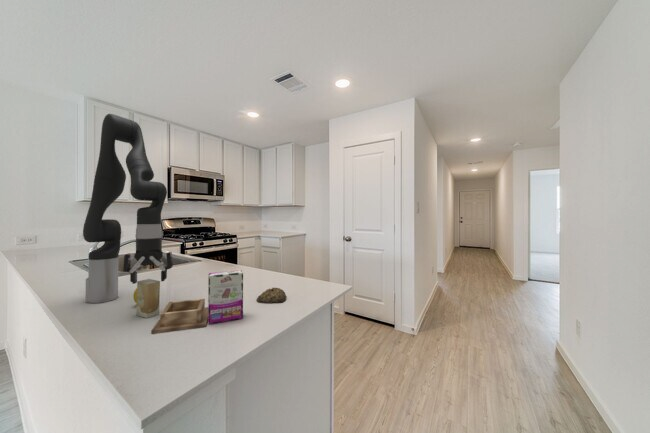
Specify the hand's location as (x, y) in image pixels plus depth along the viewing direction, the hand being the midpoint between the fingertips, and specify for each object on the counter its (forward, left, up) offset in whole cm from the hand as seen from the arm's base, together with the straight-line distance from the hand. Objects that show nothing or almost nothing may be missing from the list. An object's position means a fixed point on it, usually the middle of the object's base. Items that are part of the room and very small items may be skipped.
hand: (149, 281), depth 87 cm
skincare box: (0, 0, -12) cm, 12 cm away
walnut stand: (+13, -9, -12) cm, 19 cm away
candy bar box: (+26, -12, -12) cm, 31 cm away
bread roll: (+45, +4, -12) cm, 46 cm away
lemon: (-5, +11, -12) cm, 17 cm away
